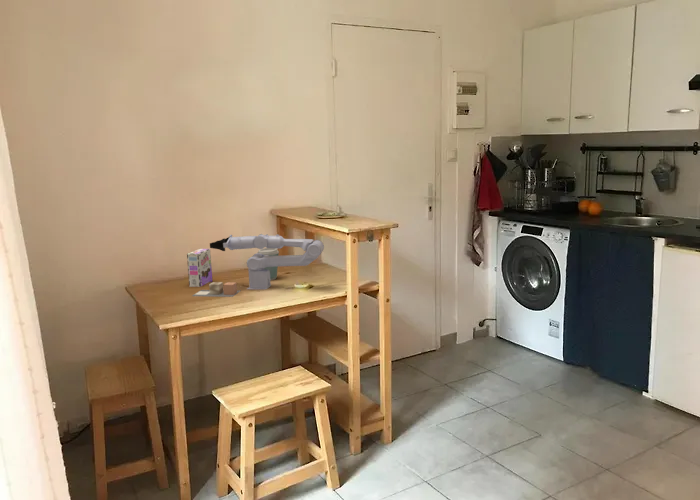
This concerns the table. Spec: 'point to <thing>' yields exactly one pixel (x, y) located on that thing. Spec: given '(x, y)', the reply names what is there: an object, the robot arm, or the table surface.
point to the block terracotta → (230, 288)
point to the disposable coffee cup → (270, 253)
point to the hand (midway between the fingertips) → (212, 244)
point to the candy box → (199, 267)
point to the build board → (207, 293)
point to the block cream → (216, 288)
